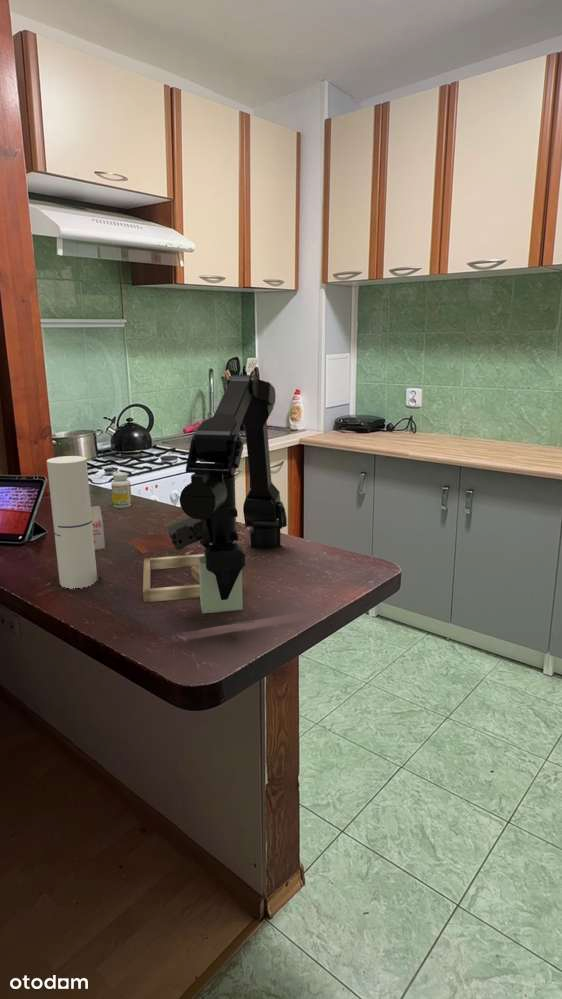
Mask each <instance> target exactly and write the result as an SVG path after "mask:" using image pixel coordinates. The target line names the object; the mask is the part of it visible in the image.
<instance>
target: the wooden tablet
mask: <svg viewBox="0 0 562 999" xmlns="http://www.w3.org/2000/svg"><path fill="white" fill-rule="evenodd" d="M130 544H131V546H133V547H134V548H135V549H136V550H137V551H138V552H140V554H144V553H145V554H146V553H153V552H160V551H170V550H176V549H175V547H174V545H173V544H172V540H171V538H170V537H168V536H167V535H165V534H163V533H160V532H157V533H151V534H146V535H141V536H137V537H134V538H131V539H130Z"/></svg>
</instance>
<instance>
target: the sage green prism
mask: <svg viewBox="0 0 562 999" xmlns="http://www.w3.org/2000/svg"><path fill="white" fill-rule="evenodd" d="M199 577H200V583H199V584H200V600H199V601H200V609H201V613H202V614H209V613H222V612H232V611H241V610H244V609H243V608H244V607H243V603H244V602H243V600H244V599H243V569H241V571H240V573H239V575H238V577H237V579H236V582H235V584H234V586H233V588H232V590H231V593H230V595H229V597H228V599H227V600H221V597H220V593H219V589H218V585H217V580H216V576H215V574H213V573H212V572H210V571H208V570H207V569H206V565H205V558H204V556H199Z"/></svg>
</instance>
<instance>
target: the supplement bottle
mask: <svg viewBox="0 0 562 999" xmlns="http://www.w3.org/2000/svg"><path fill="white" fill-rule="evenodd" d="M128 477H129V475H128V472H123V471H122V472H115V473H113V474H112V478H113V481H111V496H112V497H111V498H112V506H113V507H114V508H117V509H126V508H129V507H131V506H132V488H131V481H130V480H129V479H128Z"/></svg>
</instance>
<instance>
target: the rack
mask: <svg viewBox="0 0 562 999" xmlns="http://www.w3.org/2000/svg"><path fill="white" fill-rule="evenodd" d="M199 556H204V553H203V554H202V553H201V554H199V553H198V554H188V555H175V556H161V557H146V558H143V576H142V577H143V579H142V580H143V582H142V596H143V597H142V598H143V600H142V601H143V603H153V602H163V601H174V600H175V601H176V600H186V599H197V598H198V599H199V598H200V583H198V584H190V585H189V584H188V585H178V586H167V587H166V586H165V587H154V588H153V587H152V588H151V581H152V580H151V573H152V572H151V571H152V570H165V569H177V568H189V567H190V568H191V566H196V565H199Z"/></svg>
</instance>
